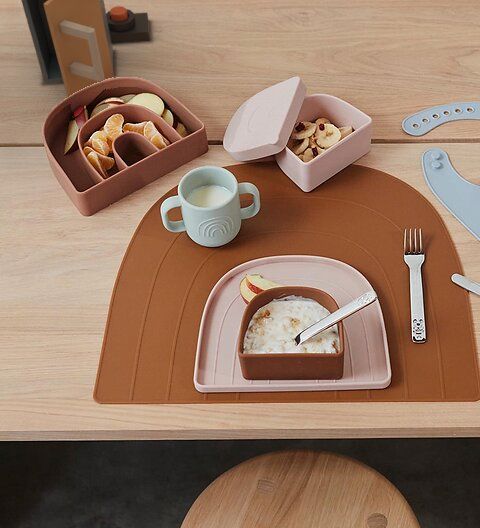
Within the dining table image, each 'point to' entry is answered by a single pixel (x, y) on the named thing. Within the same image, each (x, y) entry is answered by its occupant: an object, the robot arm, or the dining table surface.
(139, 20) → the control block
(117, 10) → the button
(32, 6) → the cupboard
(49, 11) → the cupboard door
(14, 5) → the dining table surface
